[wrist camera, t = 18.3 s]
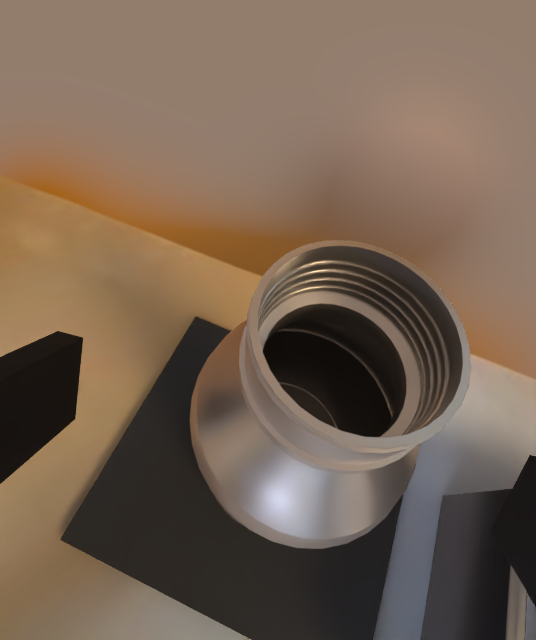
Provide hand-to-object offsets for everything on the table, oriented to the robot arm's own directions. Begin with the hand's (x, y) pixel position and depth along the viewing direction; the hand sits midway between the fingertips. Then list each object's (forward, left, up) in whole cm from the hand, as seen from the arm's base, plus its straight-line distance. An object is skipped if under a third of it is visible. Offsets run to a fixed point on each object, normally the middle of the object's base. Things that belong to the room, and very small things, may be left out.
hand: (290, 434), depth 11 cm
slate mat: (0, +1, -15) cm, 15 cm away
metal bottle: (0, +1, -14) cm, 14 cm away
